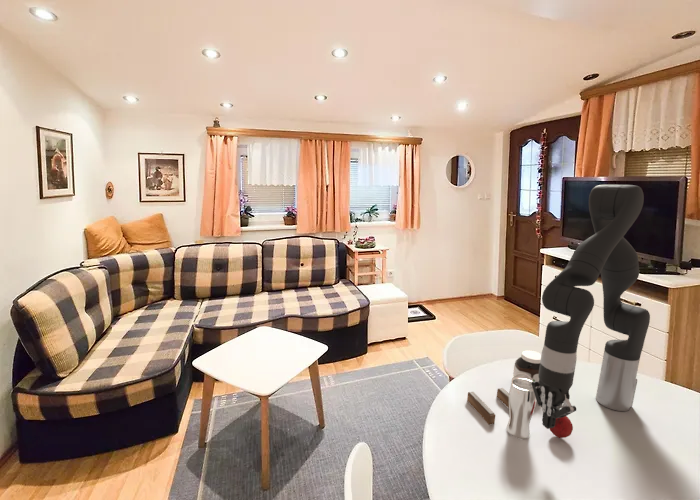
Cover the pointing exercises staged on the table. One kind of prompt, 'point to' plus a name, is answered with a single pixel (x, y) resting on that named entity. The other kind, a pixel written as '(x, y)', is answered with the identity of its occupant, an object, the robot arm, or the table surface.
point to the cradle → (483, 408)
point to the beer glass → (520, 408)
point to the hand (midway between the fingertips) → (547, 426)
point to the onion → (562, 427)
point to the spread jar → (527, 366)
